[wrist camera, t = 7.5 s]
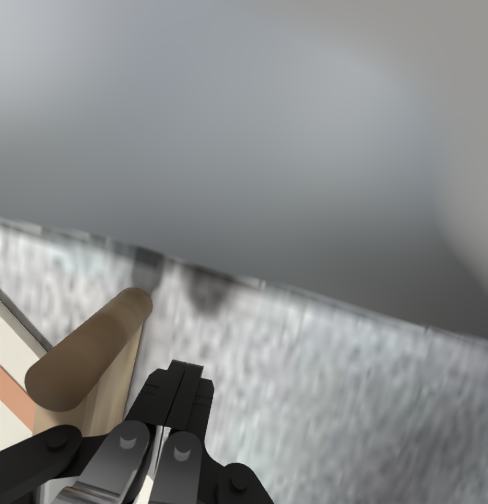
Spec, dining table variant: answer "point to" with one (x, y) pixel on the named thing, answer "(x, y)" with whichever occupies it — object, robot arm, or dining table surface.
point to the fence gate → (90, 369)
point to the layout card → (13, 388)
